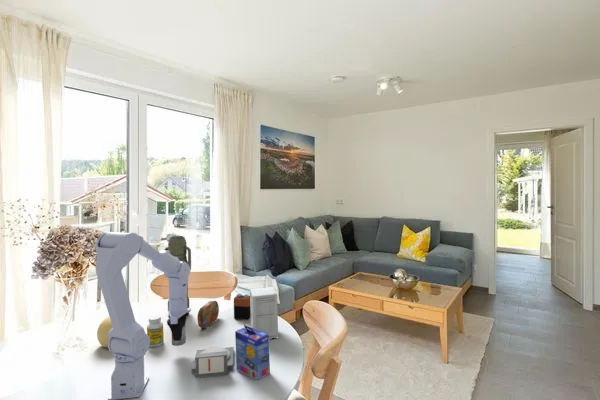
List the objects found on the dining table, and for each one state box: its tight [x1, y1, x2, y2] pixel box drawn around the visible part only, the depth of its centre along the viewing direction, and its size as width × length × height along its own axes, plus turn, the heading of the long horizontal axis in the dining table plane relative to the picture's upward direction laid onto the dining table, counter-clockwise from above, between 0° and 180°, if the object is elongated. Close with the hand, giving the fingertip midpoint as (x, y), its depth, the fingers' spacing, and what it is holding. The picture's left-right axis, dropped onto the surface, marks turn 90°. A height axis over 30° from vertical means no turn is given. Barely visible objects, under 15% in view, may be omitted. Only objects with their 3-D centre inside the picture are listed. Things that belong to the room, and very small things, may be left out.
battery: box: [233, 293, 251, 321], centre depth 144 cm, size 4×7×10 cm, turn 80°
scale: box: [191, 346, 235, 379], centre depth 106 cm, size 15×12×6 cm
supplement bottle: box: [146, 315, 165, 348], centre depth 120 cm, size 5×5×10 cm
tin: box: [197, 300, 220, 329], centre depth 138 cm, size 15×3×8 cm, turn 170°
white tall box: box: [249, 286, 279, 340], centre depth 127 cm, size 10×9×17 cm
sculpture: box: [96, 316, 113, 348], centre depth 121 cm, size 11×12×11 cm
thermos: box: [164, 235, 192, 319], centre depth 147 cm, size 9×12×35 cm
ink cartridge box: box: [234, 324, 271, 381], centre depth 101 cm, size 10×6×14 cm, turn 51°
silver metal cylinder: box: [171, 325, 187, 347], centre depth 112 cm, size 4×4×5 cm
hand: (178, 337), depth 112 cm, fingers closed on silver metal cylinder, 4 cm apart
